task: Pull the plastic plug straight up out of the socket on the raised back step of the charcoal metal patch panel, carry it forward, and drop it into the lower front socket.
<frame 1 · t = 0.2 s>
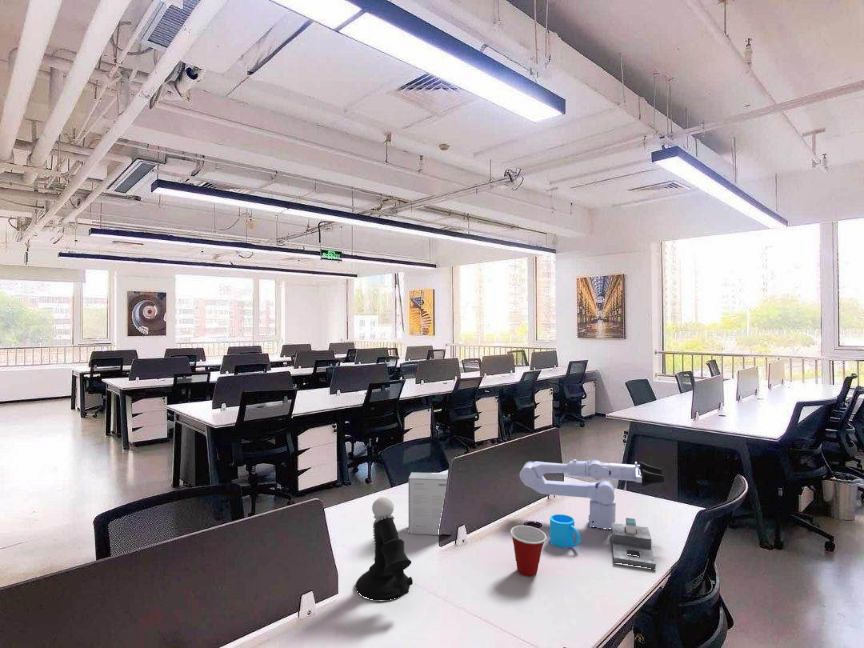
hand: (662, 475, 178), 21 cm above the table, tool horizontal, fingers open, 7 cm apart
mug: (565, 545, 169), on the table
patch panel: (631, 551, 164), on the table
plug: (630, 538, 170), point 2 cm above the table, touching patch panel
plastic cup: (527, 572, 150), on the table
hard drive box: (430, 531, 179), on the table
sculpture: (388, 594, 137), on the table
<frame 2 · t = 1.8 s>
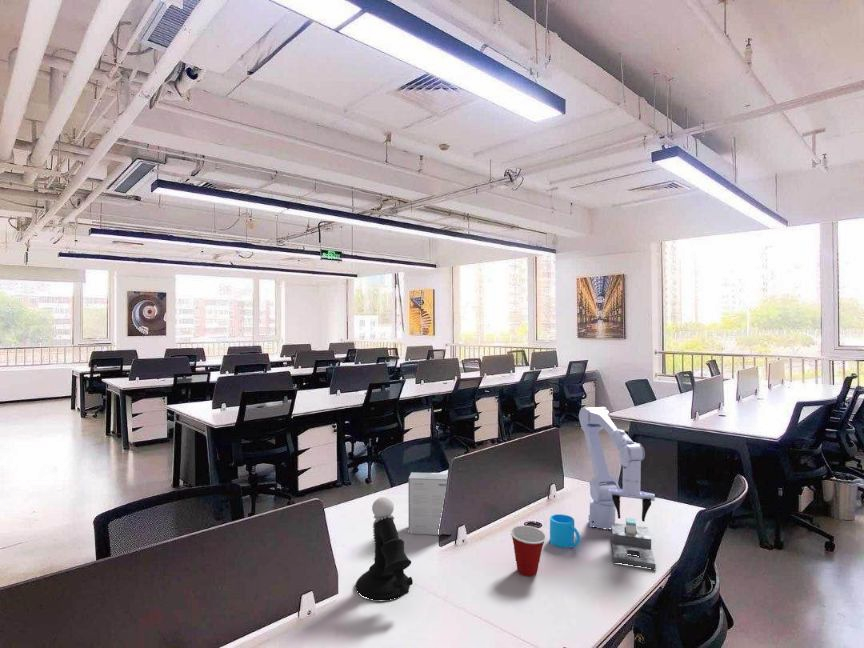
hand: (631, 518, 170), 9 cm above the table, tool pointing down, fingers open, 7 cm apart
nothing on the table moved.
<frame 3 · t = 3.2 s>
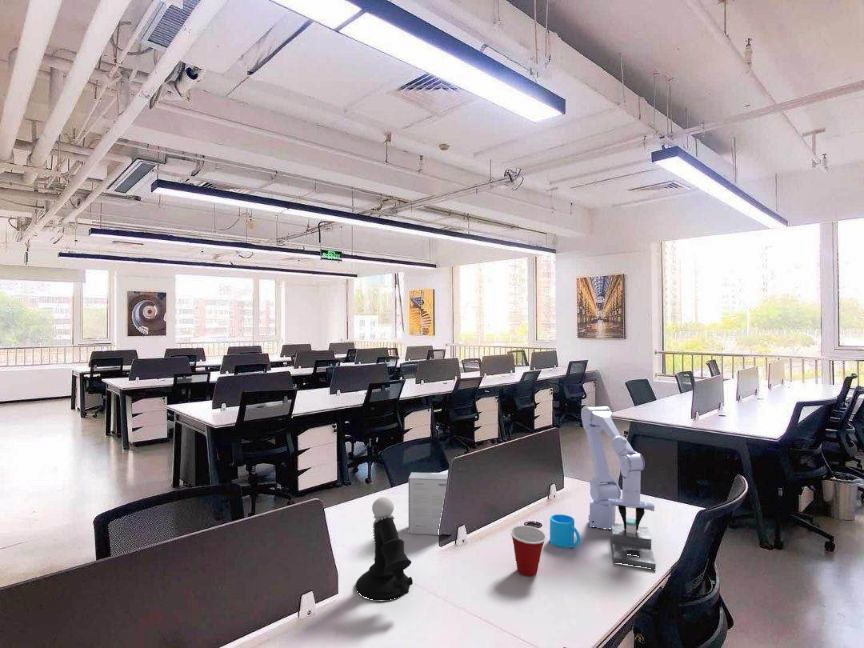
hand: (630, 528, 170), 5 cm above the table, tool pointing down, fingers closed on plug, 3 cm apart
plug: (630, 538, 170), point 2 cm above the table, touching gripper, patch panel
everything else where it was.
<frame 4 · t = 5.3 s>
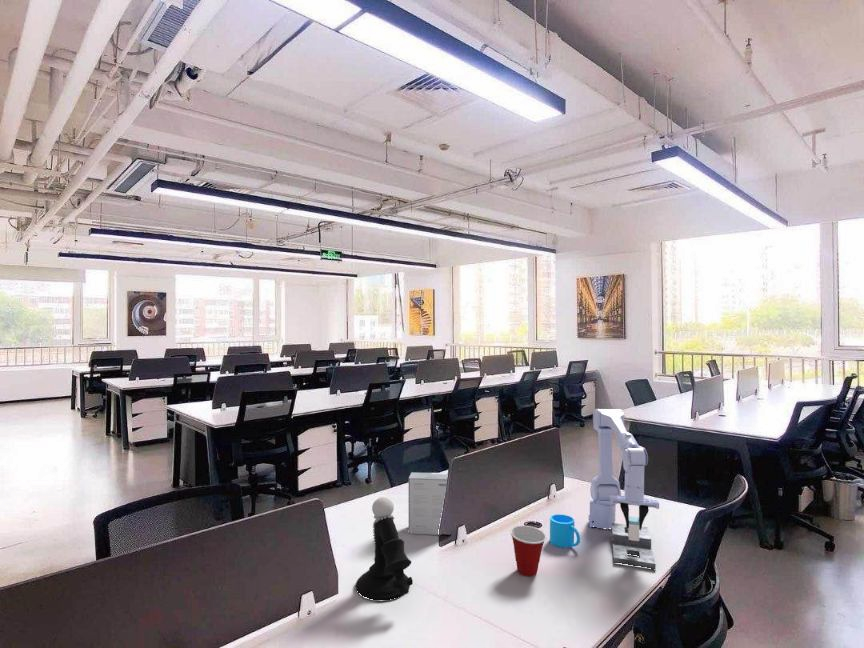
hand: (633, 527, 158), 10 cm above the table, tool pointing down, fingers closed on plug, 3 cm apart
plug: (633, 537, 158), point 7 cm above the table, touching gripper
everything else where it was.
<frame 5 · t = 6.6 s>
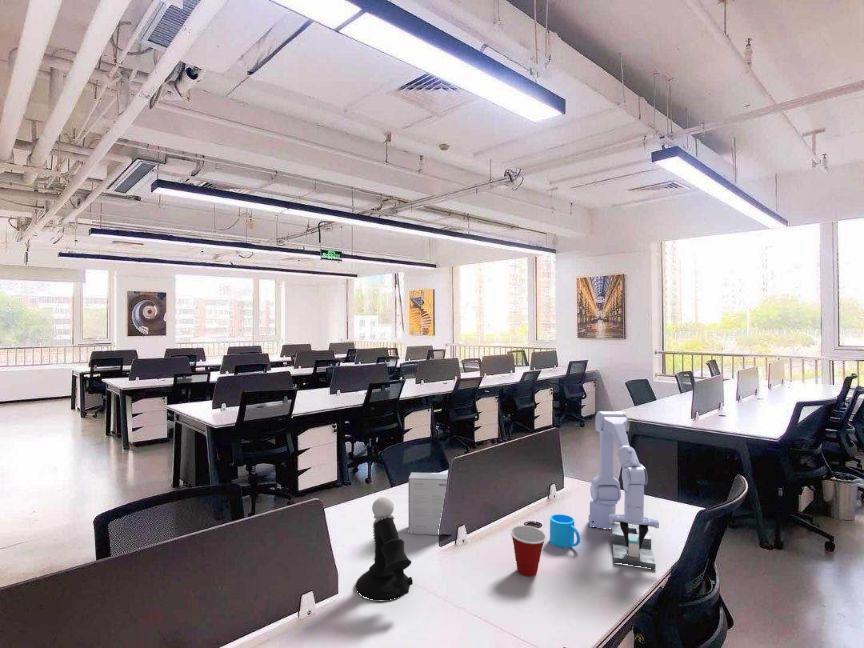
hand: (633, 546, 158), 4 cm above the table, tool pointing down, fingers closed on plug, 3 cm apart
plug: (633, 556, 158), point 1 cm above the table, touching gripper
everything else where it was.
when the fingers open (4 cm above the table, at t = 7.4 s): plug stays where it is, resting in patch panel.
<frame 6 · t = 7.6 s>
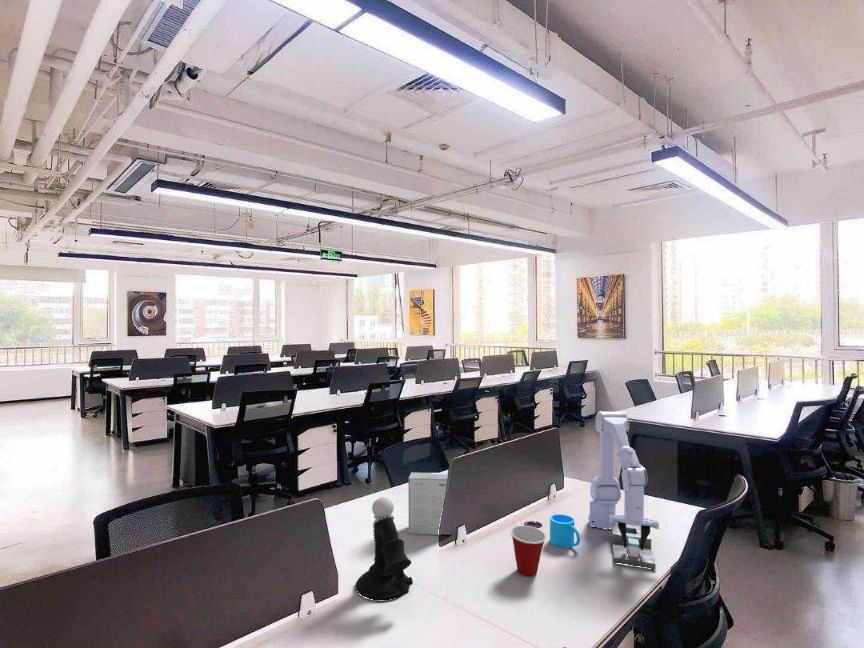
hand: (633, 547, 158), 4 cm above the table, tool pointing down, fingers open, 4 cm apart
plug: (633, 559, 159), resting in patch panel
everything else where it was.
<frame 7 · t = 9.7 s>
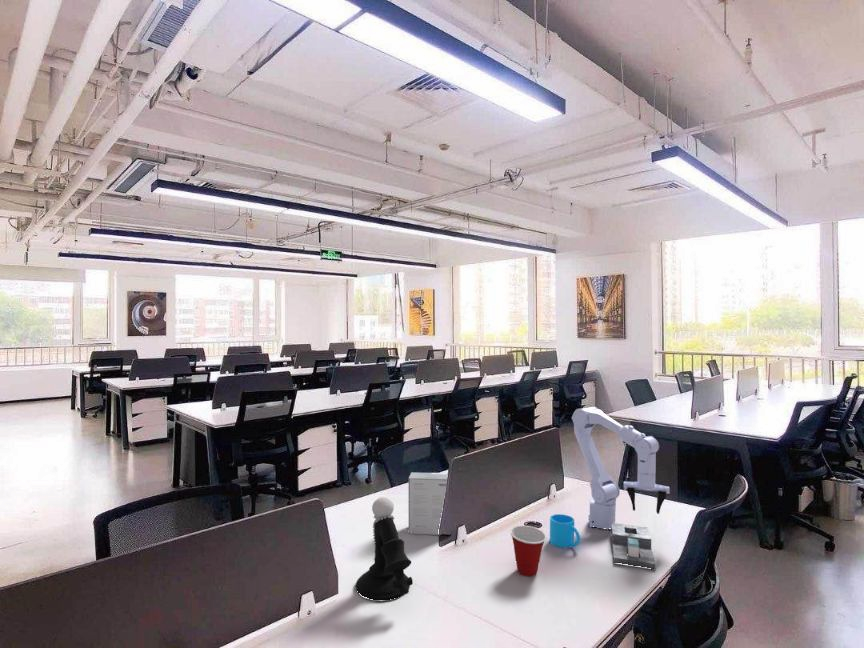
hand: (645, 511, 172), 10 cm above the table, tool pointing down, fingers open, 7 cm apart
nothing on the table moved.
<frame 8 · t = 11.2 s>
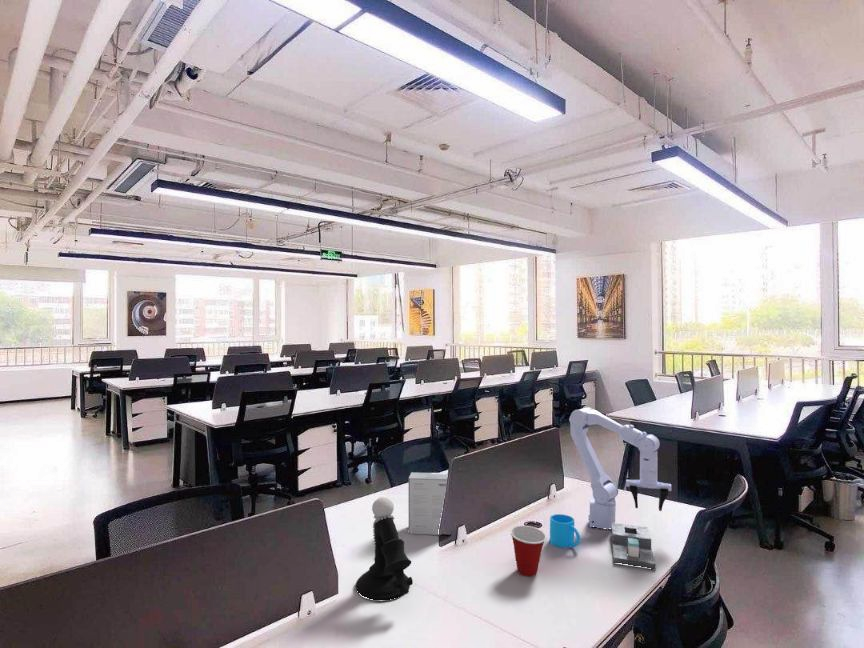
hand: (648, 508, 174), 10 cm above the table, tool pointing down, fingers open, 7 cm apart
nothing on the table moved.
at the end: plug 0.1 cm from the target spot on the patch panel, point 0.0 cm above the patch panel's base; plug tilted 0°; the gripper is holding nothing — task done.
